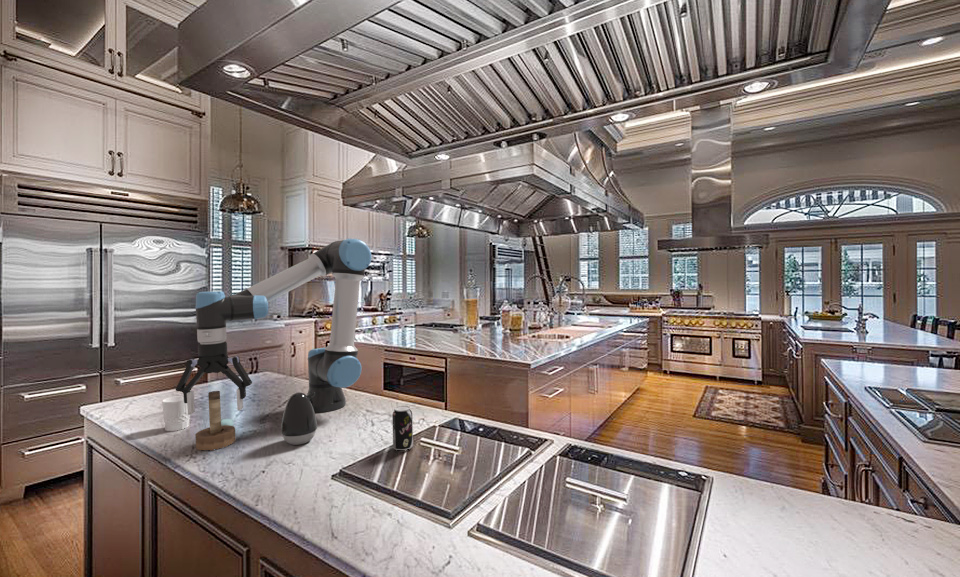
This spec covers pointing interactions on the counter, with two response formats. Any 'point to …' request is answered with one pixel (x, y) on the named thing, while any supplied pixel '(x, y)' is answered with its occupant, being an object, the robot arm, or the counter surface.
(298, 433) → the black egg shaped speaker
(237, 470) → the counter surface
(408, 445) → the beverage can
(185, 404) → the white cup
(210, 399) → the tan wooden rod
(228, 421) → the small bead
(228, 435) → the wooden peg base
